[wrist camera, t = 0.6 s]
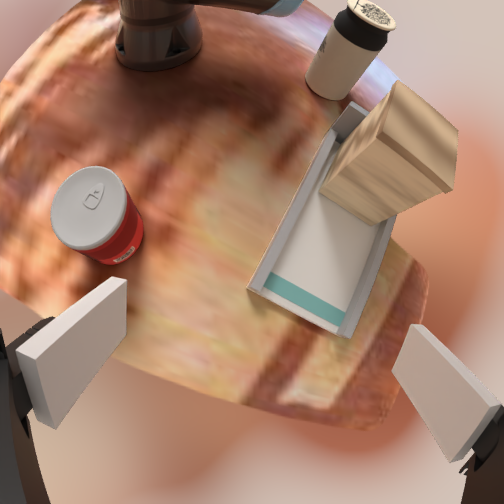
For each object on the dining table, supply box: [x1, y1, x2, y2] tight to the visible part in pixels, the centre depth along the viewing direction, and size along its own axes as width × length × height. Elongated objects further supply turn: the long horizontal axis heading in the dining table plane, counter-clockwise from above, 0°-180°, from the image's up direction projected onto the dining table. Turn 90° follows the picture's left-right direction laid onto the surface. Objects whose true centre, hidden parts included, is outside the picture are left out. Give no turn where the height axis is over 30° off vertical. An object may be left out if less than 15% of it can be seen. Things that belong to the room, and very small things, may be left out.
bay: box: [246, 101, 397, 339], centre depth 35 cm, size 26×14×9 cm, turn 152°
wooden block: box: [318, 80, 458, 226], centre depth 32 cm, size 9×9×16 cm
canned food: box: [51, 166, 144, 265], centre depth 28 cm, size 8×8×11 cm
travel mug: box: [305, 0, 396, 100], centre depth 35 cm, size 8×8×18 cm
